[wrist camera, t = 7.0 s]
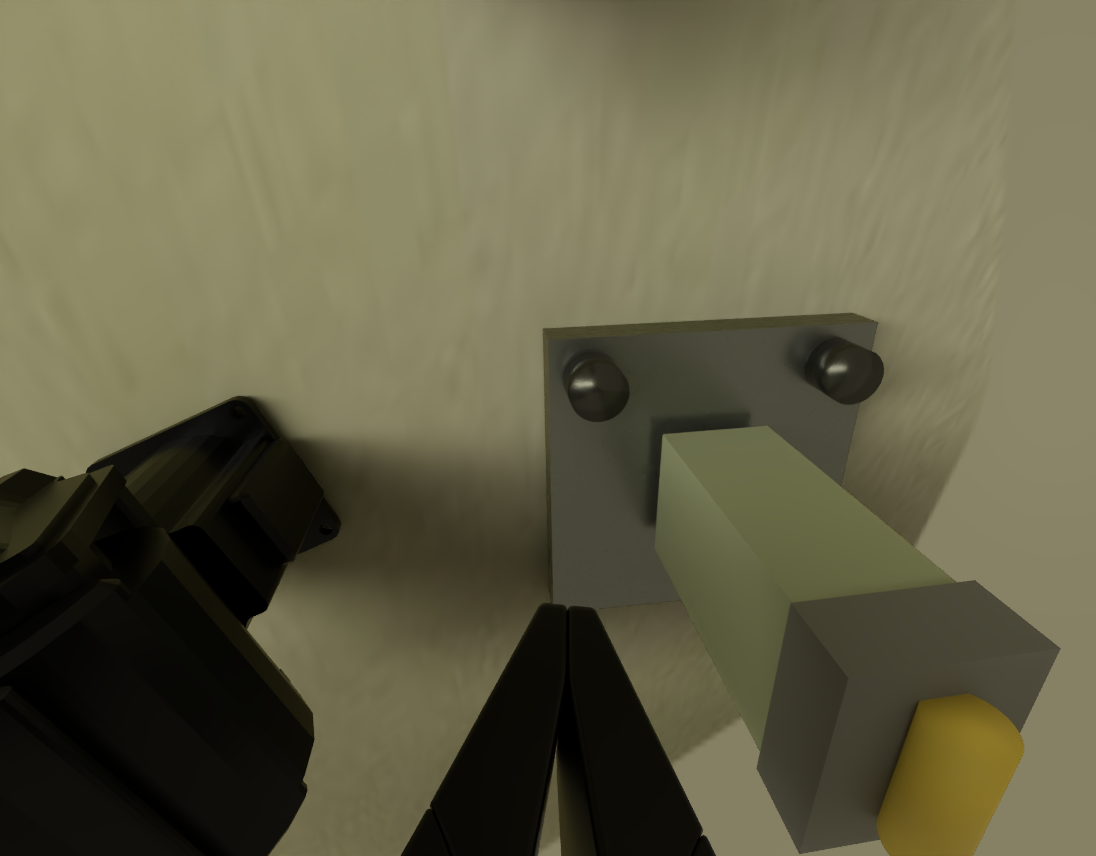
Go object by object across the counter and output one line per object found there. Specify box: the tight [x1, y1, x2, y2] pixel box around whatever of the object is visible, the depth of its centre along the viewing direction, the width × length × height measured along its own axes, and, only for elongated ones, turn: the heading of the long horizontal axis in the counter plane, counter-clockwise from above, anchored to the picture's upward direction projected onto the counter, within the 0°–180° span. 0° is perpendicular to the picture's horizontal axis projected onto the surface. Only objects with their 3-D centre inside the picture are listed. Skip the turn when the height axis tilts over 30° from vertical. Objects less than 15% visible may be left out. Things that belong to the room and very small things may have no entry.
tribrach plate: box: [543, 313, 884, 609], centre depth 22 cm, size 12×12×3 cm
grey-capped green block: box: [654, 426, 1060, 856], centre depth 16 cm, size 4×5×12 cm
